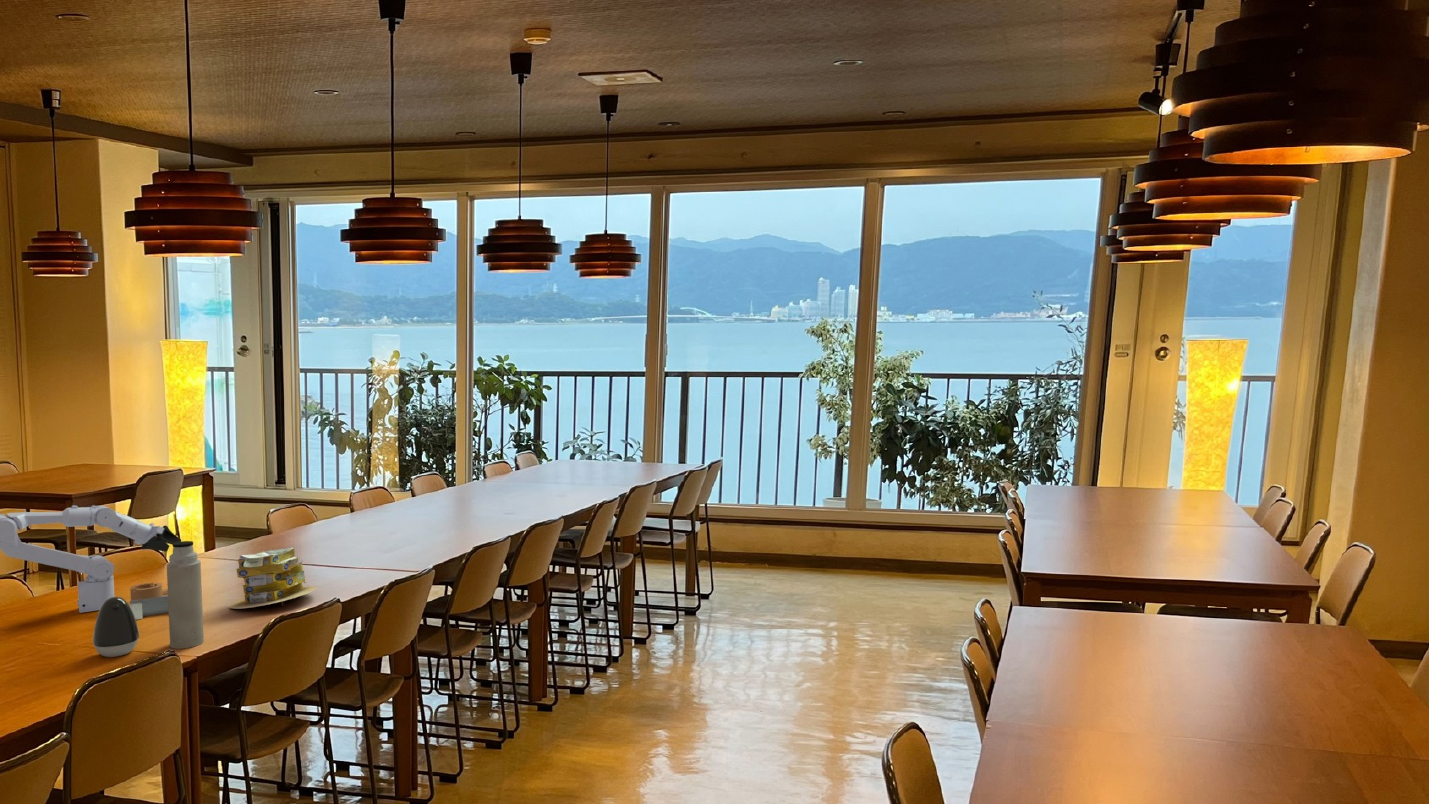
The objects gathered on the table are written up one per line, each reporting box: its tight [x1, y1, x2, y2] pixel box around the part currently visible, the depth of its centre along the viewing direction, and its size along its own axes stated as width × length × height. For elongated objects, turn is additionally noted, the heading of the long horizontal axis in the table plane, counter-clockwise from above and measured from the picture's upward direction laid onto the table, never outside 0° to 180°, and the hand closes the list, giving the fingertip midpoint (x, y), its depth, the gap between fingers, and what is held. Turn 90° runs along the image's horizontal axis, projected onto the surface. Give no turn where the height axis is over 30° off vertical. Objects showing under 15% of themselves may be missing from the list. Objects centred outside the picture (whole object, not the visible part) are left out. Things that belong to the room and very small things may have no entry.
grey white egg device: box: [92, 596, 140, 658], centre depth 242 cm, size 10×10×15 cm
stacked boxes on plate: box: [229, 547, 318, 610], centre depth 290 cm, size 25×25×17 cm
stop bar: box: [129, 596, 169, 621], centre depth 278 cm, size 17×4×5 cm, turn 123°
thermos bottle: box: [166, 540, 205, 650], centre depth 249 cm, size 8×8×28 cm
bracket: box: [129, 582, 168, 600], centre depth 290 cm, size 18×8×7 cm, turn 166°
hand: (173, 545), depth 299 cm, fingers open, 7 cm apart
